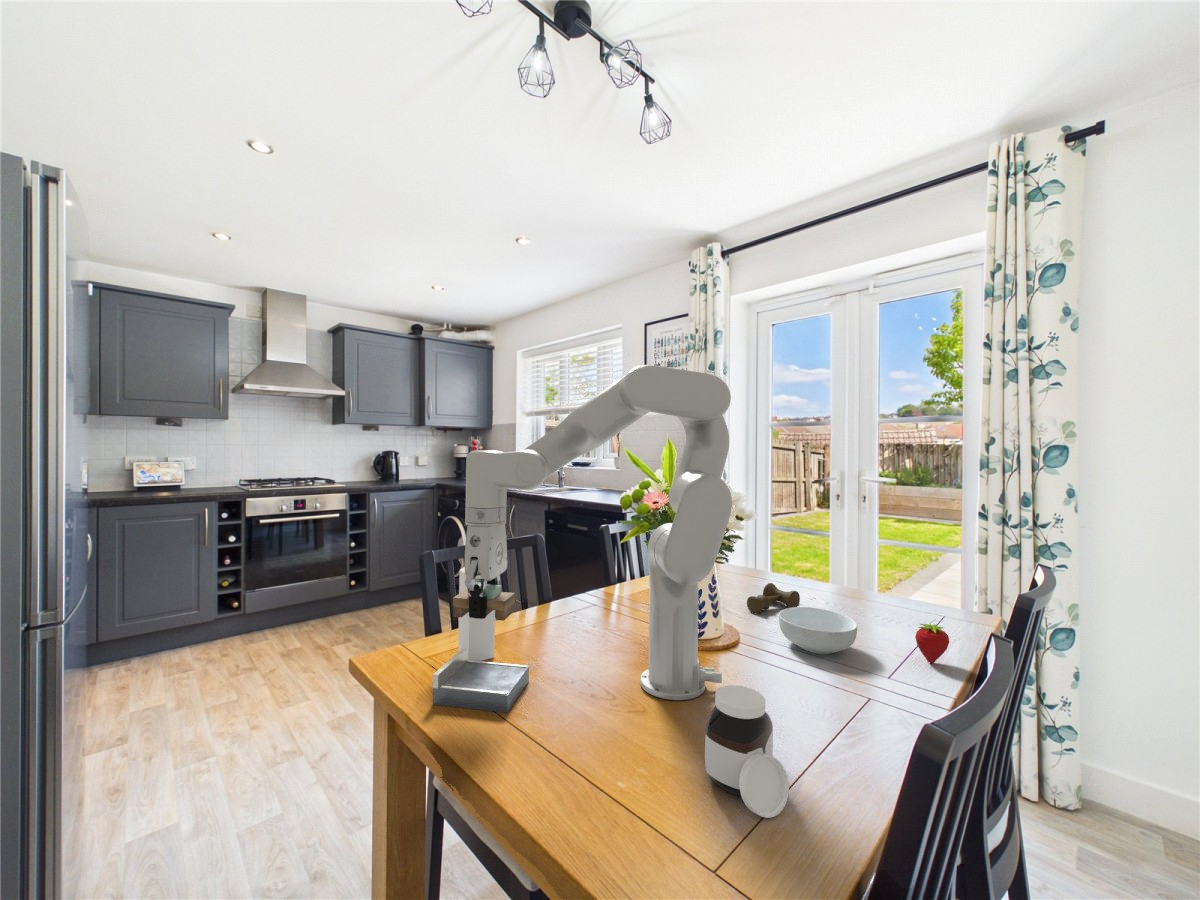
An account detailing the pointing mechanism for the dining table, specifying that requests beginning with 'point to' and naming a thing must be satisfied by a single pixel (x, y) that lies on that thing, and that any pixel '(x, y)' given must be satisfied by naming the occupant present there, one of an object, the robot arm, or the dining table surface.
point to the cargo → (491, 591)
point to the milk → (476, 630)
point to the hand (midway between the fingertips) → (484, 611)
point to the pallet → (500, 604)
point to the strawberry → (932, 641)
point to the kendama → (772, 599)
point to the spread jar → (745, 751)
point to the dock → (478, 684)
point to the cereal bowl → (817, 629)
